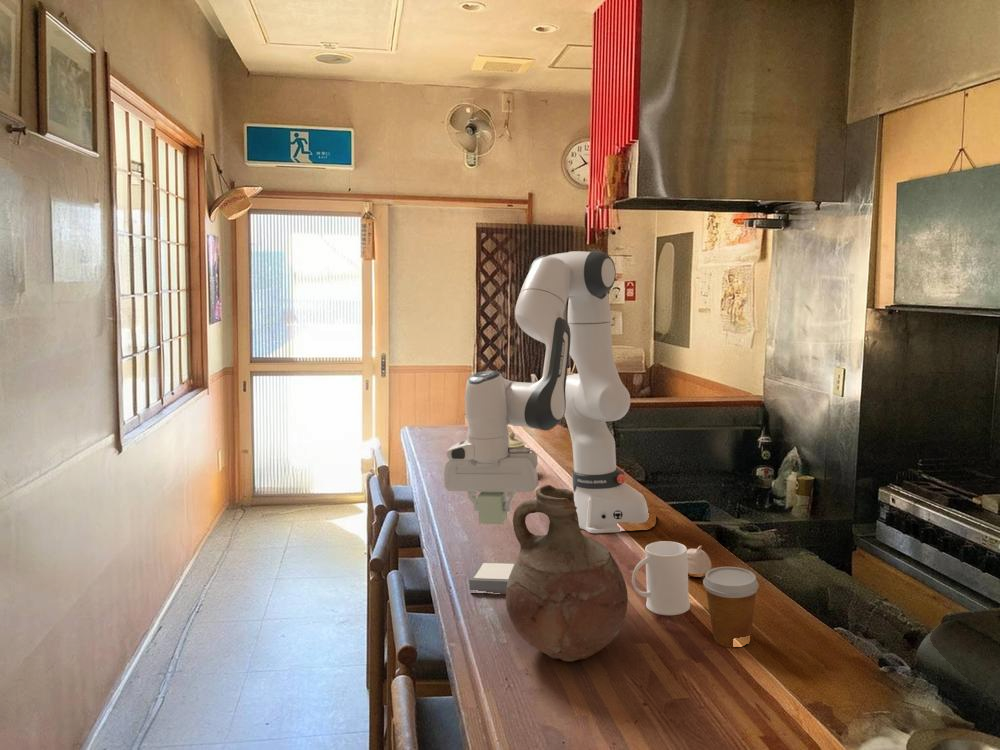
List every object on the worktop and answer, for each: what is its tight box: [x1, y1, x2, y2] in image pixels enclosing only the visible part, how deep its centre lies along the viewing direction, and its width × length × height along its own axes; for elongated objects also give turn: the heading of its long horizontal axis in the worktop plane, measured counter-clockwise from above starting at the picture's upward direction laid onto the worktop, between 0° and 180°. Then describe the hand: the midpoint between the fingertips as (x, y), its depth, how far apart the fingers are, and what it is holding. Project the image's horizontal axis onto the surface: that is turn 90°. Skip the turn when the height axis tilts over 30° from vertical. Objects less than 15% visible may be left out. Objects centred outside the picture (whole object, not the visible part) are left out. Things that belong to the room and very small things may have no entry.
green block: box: [477, 492, 508, 525], centre depth 168 cm, size 5×5×6 cm
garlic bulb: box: [687, 545, 712, 575], centre depth 168 cm, size 7×6×8 cm
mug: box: [631, 540, 691, 616], centre depth 154 cm, size 12×8×12 cm
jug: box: [505, 484, 629, 662], centre depth 138 cm, size 22×22×30 cm
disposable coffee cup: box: [702, 566, 760, 649], centre depth 139 cm, size 10×10×12 cm
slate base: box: [468, 561, 515, 594], centre depth 171 cm, size 10×10×3 cm
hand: (492, 510), depth 168 cm, fingers closed on green block, 5 cm apart
